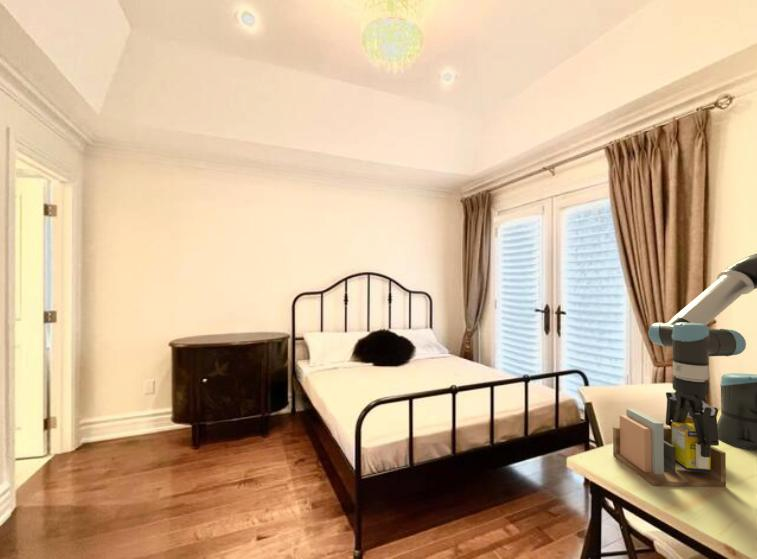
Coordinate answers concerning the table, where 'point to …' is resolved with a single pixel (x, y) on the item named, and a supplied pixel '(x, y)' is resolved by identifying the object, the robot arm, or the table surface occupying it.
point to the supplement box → (686, 446)
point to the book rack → (677, 466)
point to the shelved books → (642, 441)
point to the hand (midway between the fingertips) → (690, 460)
